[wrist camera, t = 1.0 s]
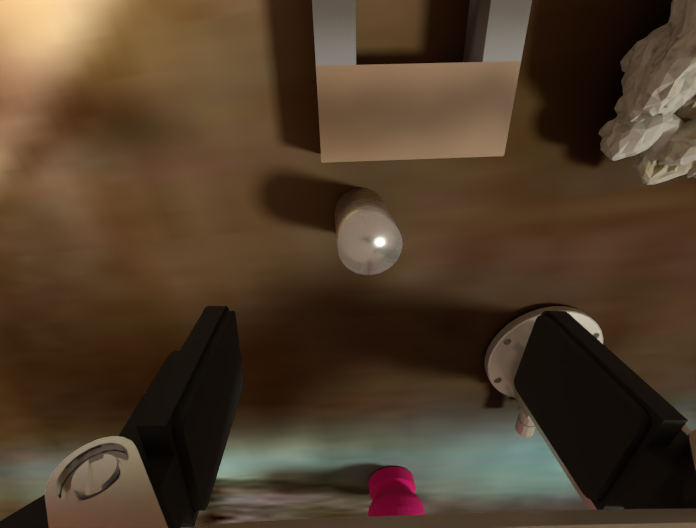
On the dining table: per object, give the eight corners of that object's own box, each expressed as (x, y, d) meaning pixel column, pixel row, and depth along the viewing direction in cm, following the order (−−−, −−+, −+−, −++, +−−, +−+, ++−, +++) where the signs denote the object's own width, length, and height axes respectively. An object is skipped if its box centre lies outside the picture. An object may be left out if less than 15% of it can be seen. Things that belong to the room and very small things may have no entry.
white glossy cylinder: (384, 235, 30) (400, 273, 24) (335, 238, 30) (338, 276, 23) (386, 187, 28) (403, 213, 22) (333, 189, 28) (336, 216, 21)
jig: (483, 148, 27) (503, 155, 24) (321, 154, 26) (321, 162, 23) (534, -188, 19) (576, -244, 16) (302, -190, 18) (297, -250, 15)
